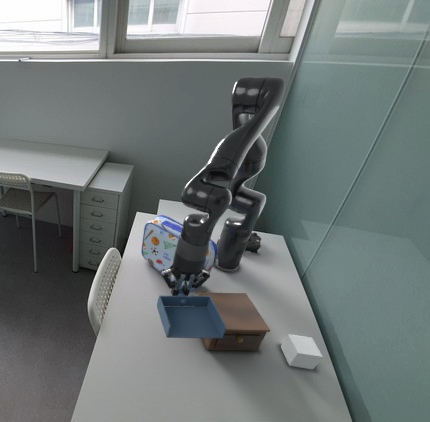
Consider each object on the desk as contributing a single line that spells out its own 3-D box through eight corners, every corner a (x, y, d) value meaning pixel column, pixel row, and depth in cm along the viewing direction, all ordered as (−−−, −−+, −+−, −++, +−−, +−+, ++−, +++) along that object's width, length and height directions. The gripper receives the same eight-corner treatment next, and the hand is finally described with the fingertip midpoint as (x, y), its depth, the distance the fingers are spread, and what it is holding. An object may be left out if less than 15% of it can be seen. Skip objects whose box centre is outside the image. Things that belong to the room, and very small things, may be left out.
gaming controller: (235, 225, 136) (262, 228, 131) (234, 236, 139) (260, 239, 134) (232, 241, 126) (261, 245, 121) (231, 253, 129) (259, 258, 123)
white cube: (280, 346, 91) (288, 334, 87) (303, 350, 90) (311, 337, 86) (289, 365, 86) (297, 352, 82) (313, 369, 85) (323, 356, 81)
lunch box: (213, 286, 111) (230, 239, 100) (197, 300, 106) (213, 251, 95) (151, 249, 130) (160, 205, 118) (135, 259, 125) (142, 215, 113)
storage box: (190, 313, 102) (197, 292, 96) (236, 314, 101) (246, 292, 96) (208, 354, 89) (217, 332, 84) (260, 354, 89) (272, 333, 83)
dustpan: (222, 338, 79) (227, 327, 76) (166, 337, 79) (169, 326, 77) (194, 281, 96) (197, 270, 94) (148, 281, 96) (150, 270, 94)
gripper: (211, 242, 84) (197, 287, 93) (161, 242, 84) (152, 286, 93) (223, 260, 77) (207, 306, 86) (168, 260, 78) (158, 306, 87)
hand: (178, 296), depth 90 cm, fingers closed on dustpan, 2 cm apart
